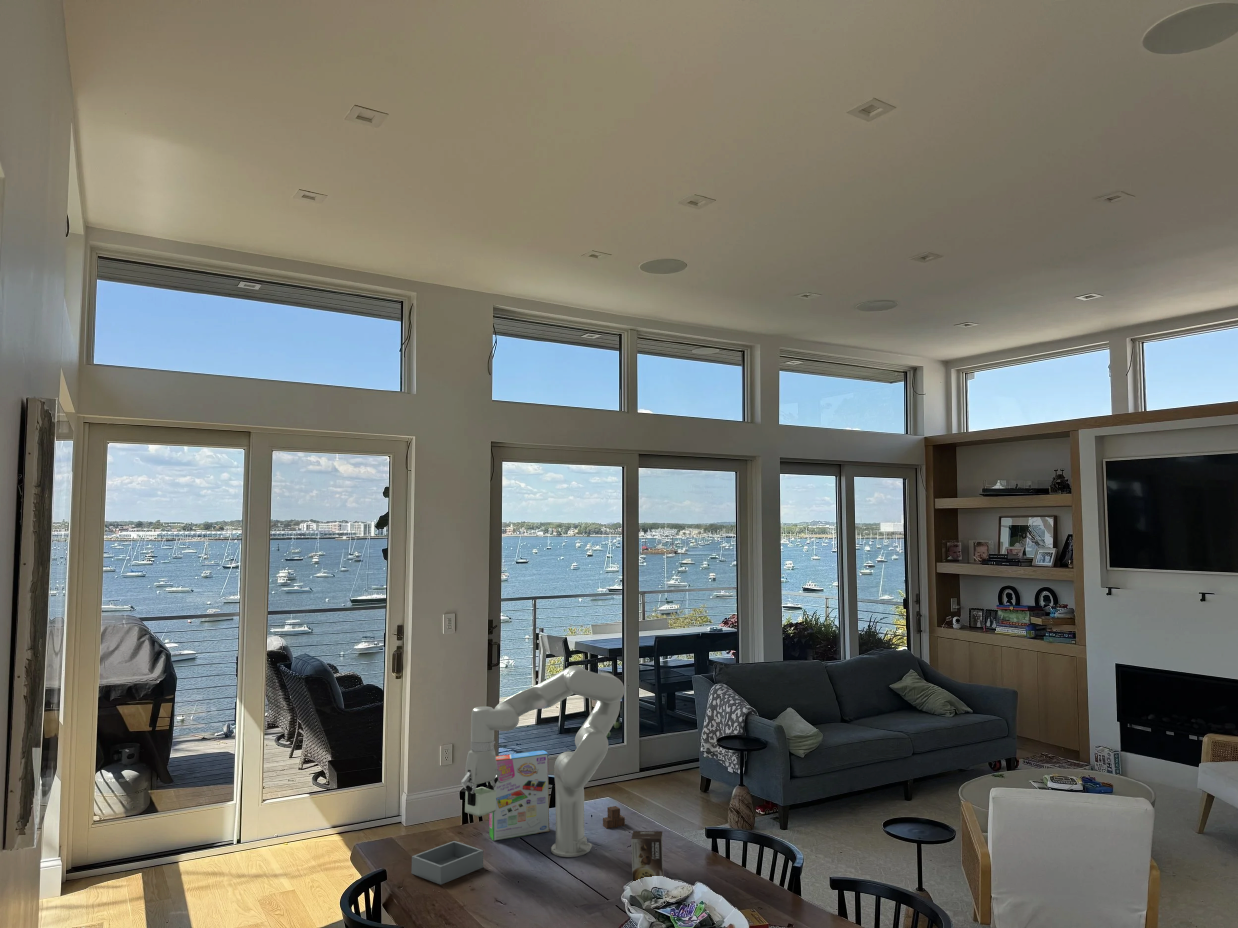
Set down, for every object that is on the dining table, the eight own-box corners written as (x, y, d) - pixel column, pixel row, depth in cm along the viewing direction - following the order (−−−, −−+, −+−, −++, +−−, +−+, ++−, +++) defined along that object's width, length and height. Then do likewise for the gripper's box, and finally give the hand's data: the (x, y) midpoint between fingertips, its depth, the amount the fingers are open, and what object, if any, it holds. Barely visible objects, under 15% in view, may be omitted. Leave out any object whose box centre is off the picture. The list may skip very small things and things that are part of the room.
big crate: (483, 868, 265) (483, 850, 266) (440, 885, 252) (440, 866, 253) (454, 857, 274) (454, 840, 275) (411, 874, 261) (411, 856, 261)
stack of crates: (605, 838, 291) (605, 818, 292) (588, 825, 305) (588, 805, 305) (644, 831, 297) (643, 811, 298) (626, 819, 311) (625, 800, 312)
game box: (544, 827, 302) (544, 749, 304) (550, 831, 296) (549, 752, 299) (488, 836, 293) (488, 756, 296) (492, 841, 288) (492, 759, 291)
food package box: (664, 886, 248) (663, 830, 250) (663, 896, 242) (662, 838, 243) (633, 886, 249) (632, 829, 251) (631, 895, 243) (631, 837, 244)
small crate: (495, 811, 273) (496, 790, 273) (479, 816, 267) (479, 795, 268) (481, 806, 277) (482, 786, 278) (464, 811, 272) (465, 791, 272)
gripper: (494, 739, 283) (493, 794, 281) (453, 748, 270) (451, 805, 268) (509, 743, 278) (508, 798, 277) (468, 752, 265) (467, 810, 263)
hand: (480, 801), depth 272 cm, fingers closed on small crate, 7 cm apart
